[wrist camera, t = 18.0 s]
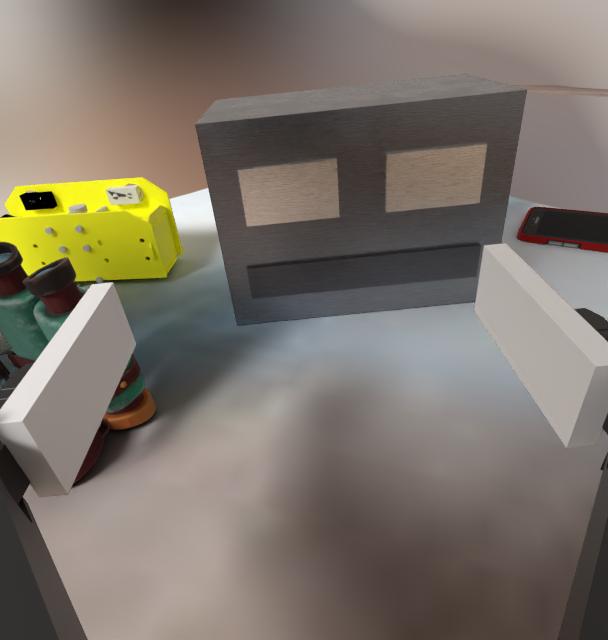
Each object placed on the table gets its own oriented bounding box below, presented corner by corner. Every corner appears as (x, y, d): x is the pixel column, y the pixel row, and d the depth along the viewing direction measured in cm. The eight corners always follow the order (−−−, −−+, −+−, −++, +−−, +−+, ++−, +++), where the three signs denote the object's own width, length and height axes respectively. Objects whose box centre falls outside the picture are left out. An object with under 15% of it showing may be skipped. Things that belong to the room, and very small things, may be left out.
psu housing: (236, 327, 33) (194, 125, 25) (245, 265, 41) (216, 100, 34) (492, 302, 33) (529, 90, 25) (448, 244, 41) (465, 73, 33)
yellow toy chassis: (186, 258, 44) (164, 174, 40) (167, 287, 40) (140, 195, 35) (39, 265, 46) (1, 185, 42) (4, 293, 42) (-43, 207, 37)
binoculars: (-216, 334, 18) (10, 221, 24) (-50, 478, 24) (94, 360, 31) (-127, 401, 14) (118, 244, 20) (45, 553, 20) (188, 398, 27)
